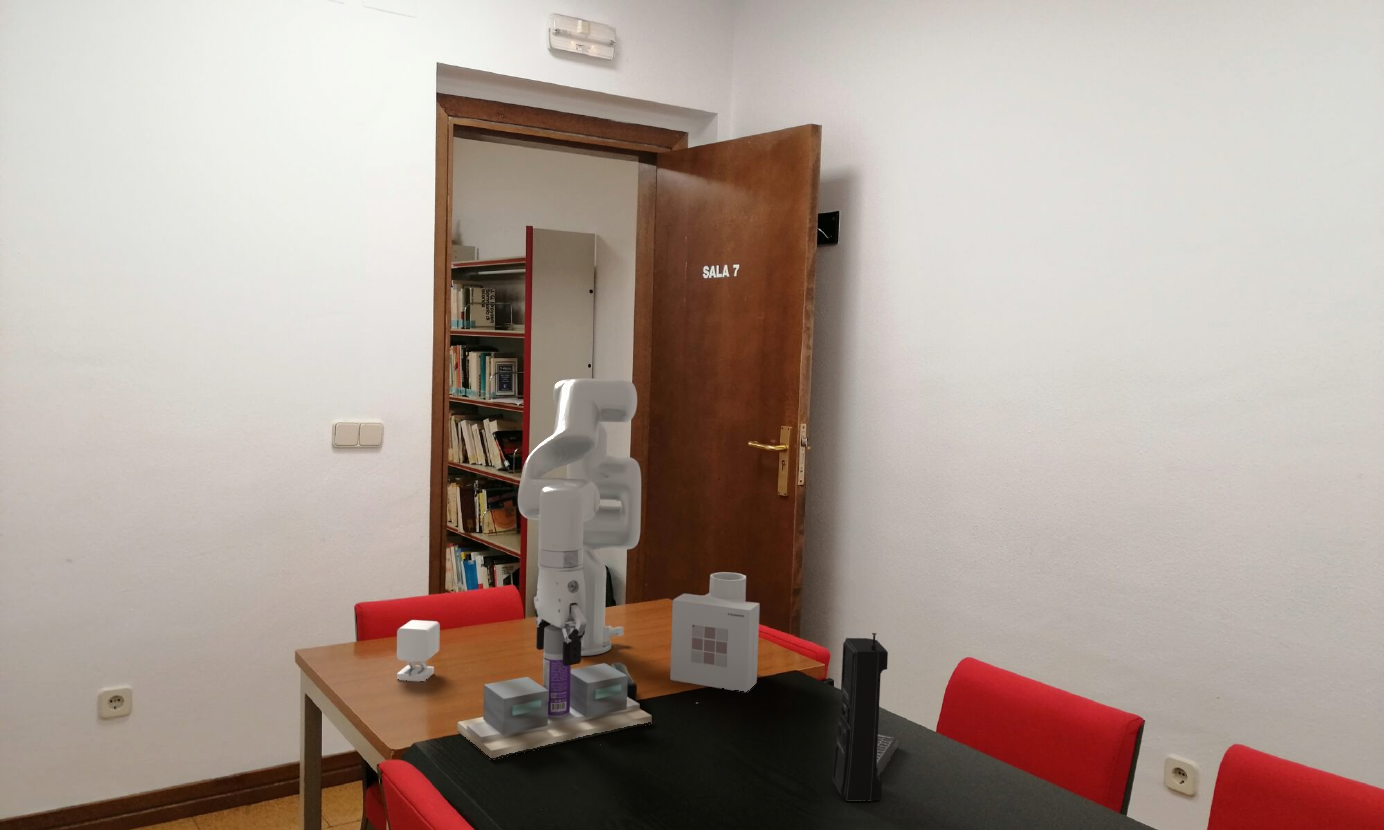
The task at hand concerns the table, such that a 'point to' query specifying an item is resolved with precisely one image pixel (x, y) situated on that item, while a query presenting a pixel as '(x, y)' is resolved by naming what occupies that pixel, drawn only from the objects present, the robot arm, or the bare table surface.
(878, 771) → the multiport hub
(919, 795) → the table surface
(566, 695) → the container
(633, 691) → the dark grey rounded bar
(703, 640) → the white square bottle
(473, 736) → the rail panel
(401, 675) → the security camera
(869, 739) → the portable radio
